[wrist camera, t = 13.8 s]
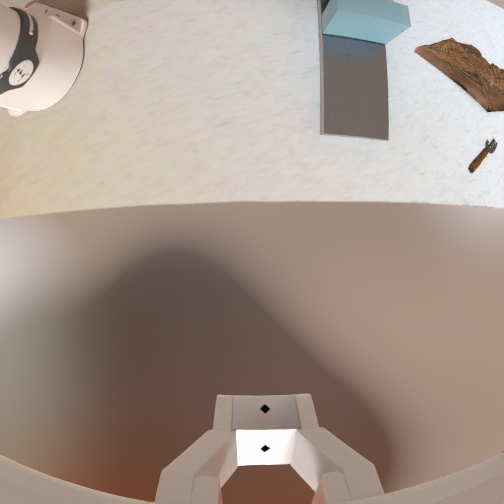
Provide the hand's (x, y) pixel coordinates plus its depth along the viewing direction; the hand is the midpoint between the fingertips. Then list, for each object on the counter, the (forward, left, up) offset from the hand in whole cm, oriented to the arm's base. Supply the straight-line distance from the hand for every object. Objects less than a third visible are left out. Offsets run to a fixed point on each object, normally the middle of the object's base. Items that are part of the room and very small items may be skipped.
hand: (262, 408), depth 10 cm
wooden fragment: (+8, +44, -35) cm, 57 cm away
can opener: (+18, +35, -35) cm, 53 cm away
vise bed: (-7, +26, -34) cm, 43 cm away
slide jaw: (-9, +28, -32) cm, 44 cm away
